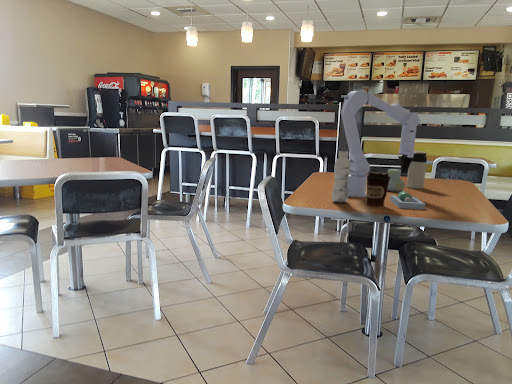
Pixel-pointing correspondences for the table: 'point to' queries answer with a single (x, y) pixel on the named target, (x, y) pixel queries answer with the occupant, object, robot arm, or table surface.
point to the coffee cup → (377, 188)
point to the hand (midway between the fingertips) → (404, 172)
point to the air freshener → (395, 181)
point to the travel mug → (417, 171)
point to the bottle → (405, 196)
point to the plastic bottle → (341, 177)
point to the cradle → (407, 203)
